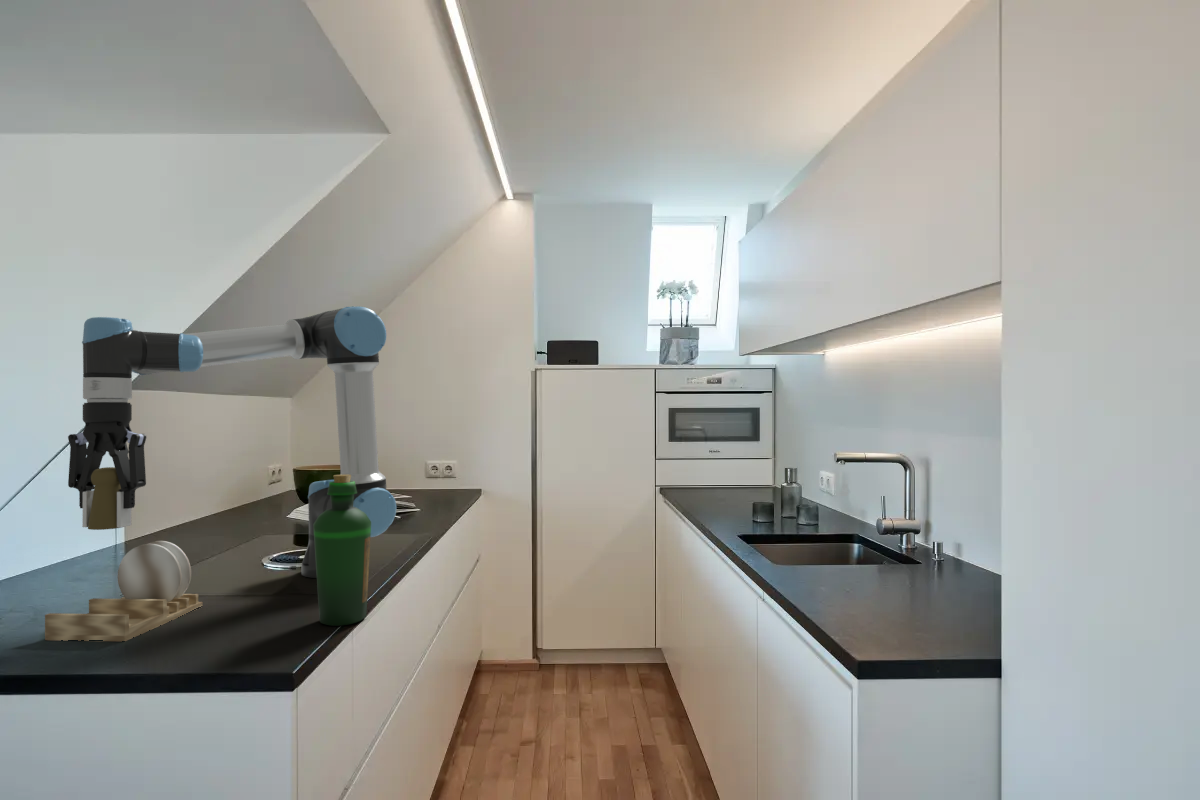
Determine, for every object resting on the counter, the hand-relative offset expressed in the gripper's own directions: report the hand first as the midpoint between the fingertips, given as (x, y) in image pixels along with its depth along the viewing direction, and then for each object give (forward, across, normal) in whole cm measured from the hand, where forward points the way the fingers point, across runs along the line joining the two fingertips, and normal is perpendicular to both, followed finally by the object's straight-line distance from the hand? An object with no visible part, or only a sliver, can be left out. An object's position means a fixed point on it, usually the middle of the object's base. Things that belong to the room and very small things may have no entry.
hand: (107, 525), depth 133 cm
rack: (+19, 0, +6) cm, 20 cm away
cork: (0, 0, 0) cm, 0 cm away
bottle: (+20, +41, +9) cm, 46 cm away
